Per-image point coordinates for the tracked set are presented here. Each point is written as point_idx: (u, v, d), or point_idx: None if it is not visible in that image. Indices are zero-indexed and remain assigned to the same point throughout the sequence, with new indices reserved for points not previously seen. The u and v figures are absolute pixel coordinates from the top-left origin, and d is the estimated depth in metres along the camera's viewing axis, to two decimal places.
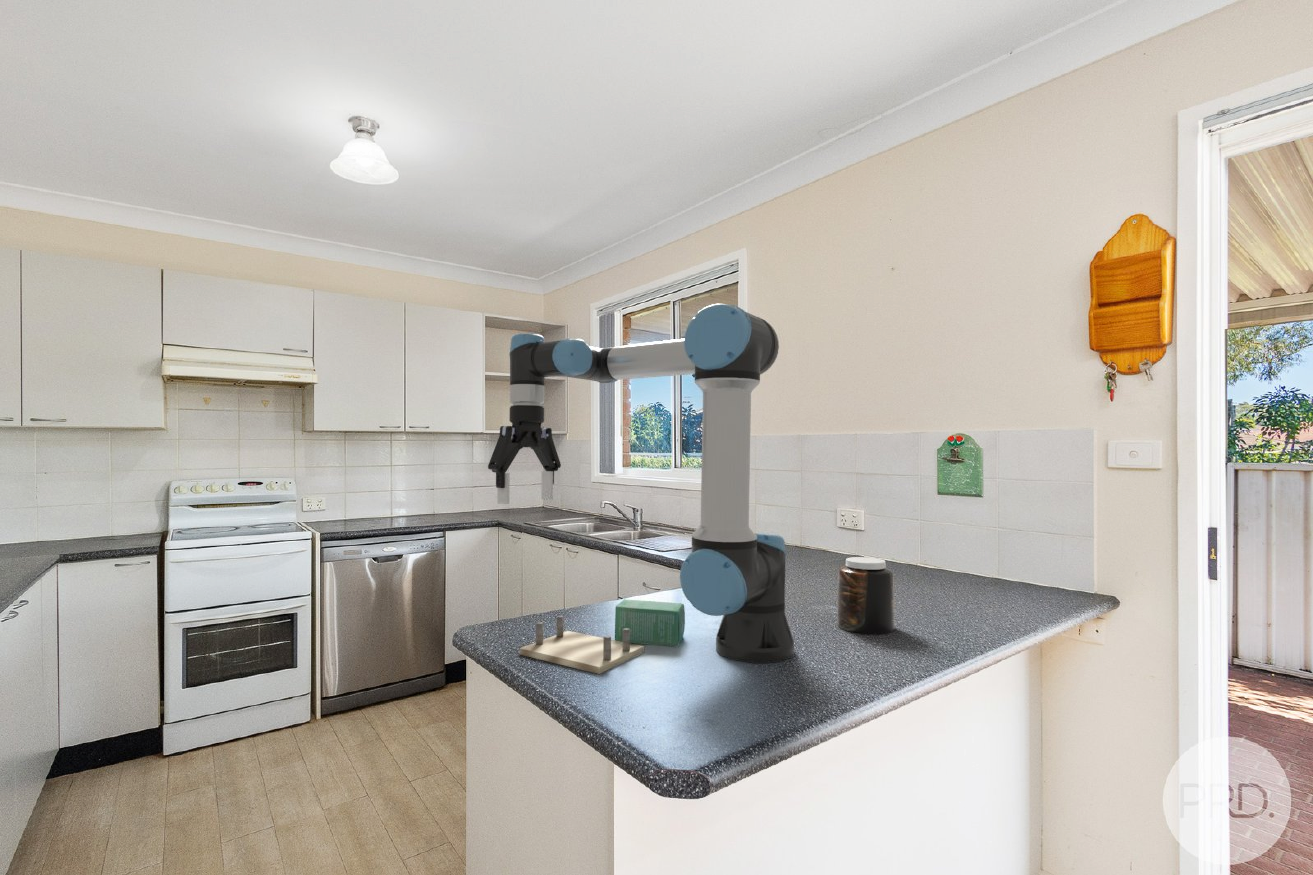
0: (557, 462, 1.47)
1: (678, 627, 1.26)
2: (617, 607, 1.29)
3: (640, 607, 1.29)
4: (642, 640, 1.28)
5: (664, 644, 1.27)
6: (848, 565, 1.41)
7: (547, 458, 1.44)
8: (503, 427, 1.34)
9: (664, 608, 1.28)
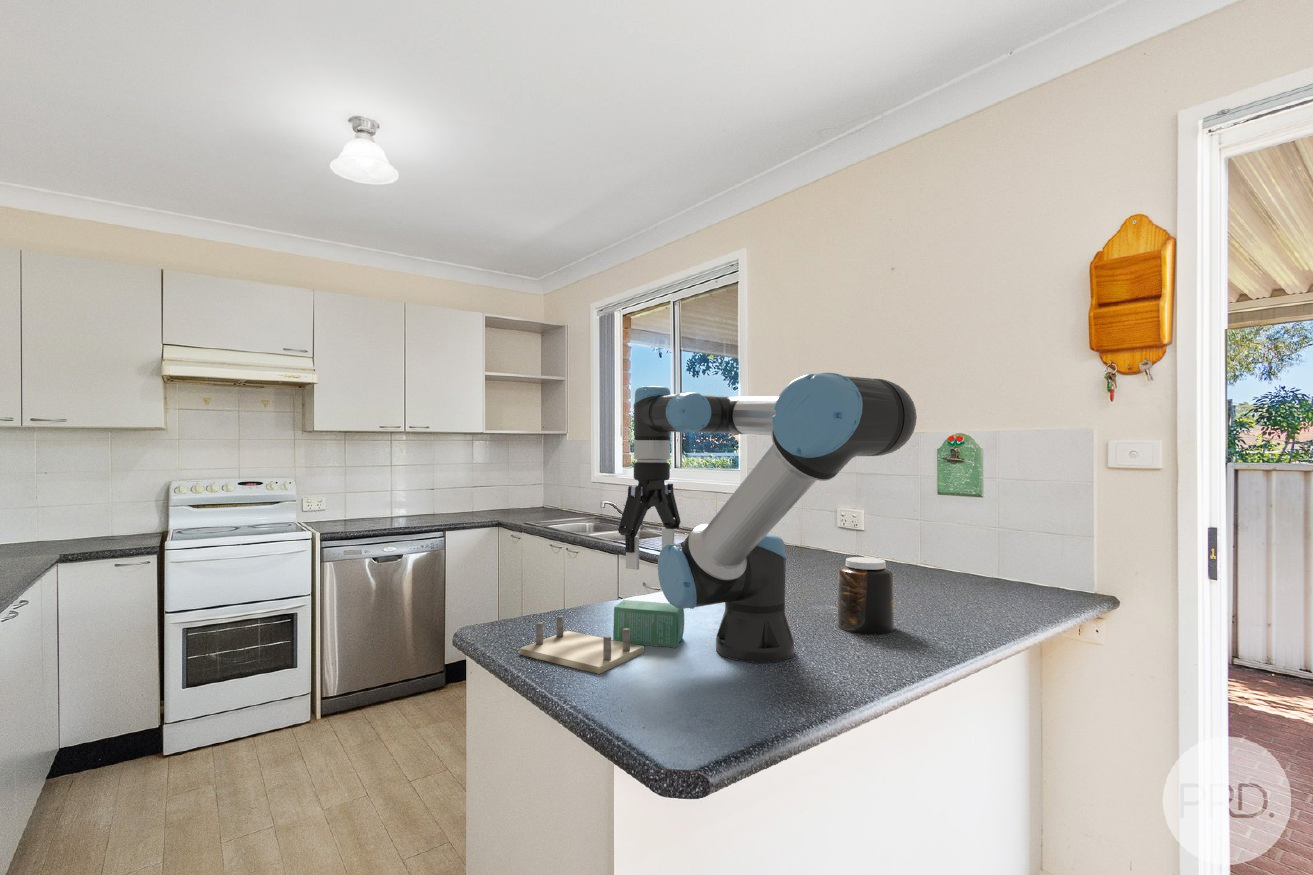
0: (677, 519, 1.39)
1: (676, 628, 1.26)
2: (616, 607, 1.29)
3: (639, 608, 1.28)
4: (640, 641, 1.27)
5: (662, 645, 1.26)
6: (848, 565, 1.41)
7: (669, 516, 1.36)
8: (632, 487, 1.26)
9: (663, 609, 1.28)
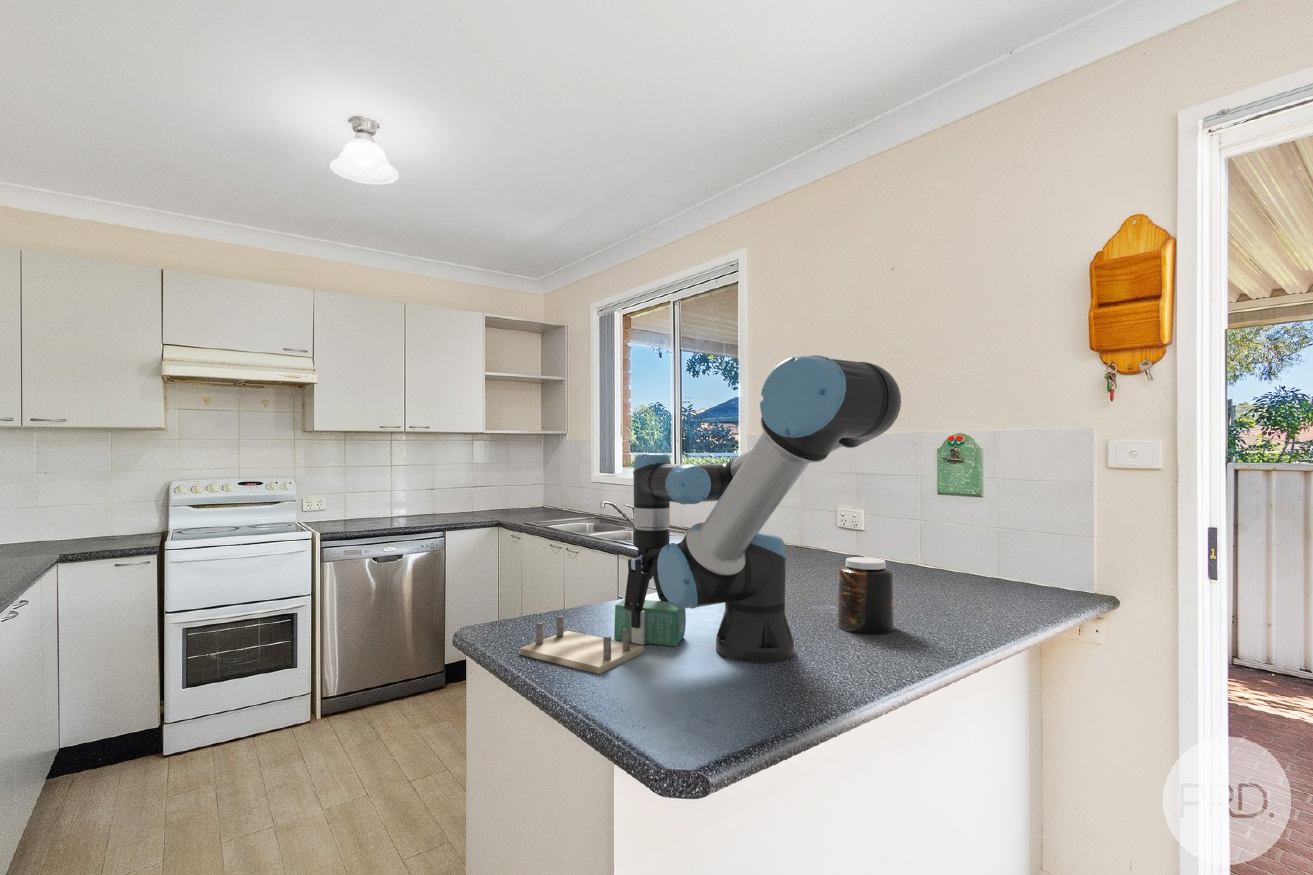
0: None
1: (676, 627, 1.26)
2: (617, 606, 1.30)
3: None
4: None
5: (662, 643, 1.27)
6: (848, 565, 1.41)
7: None
8: (631, 561, 1.26)
9: (663, 607, 1.28)
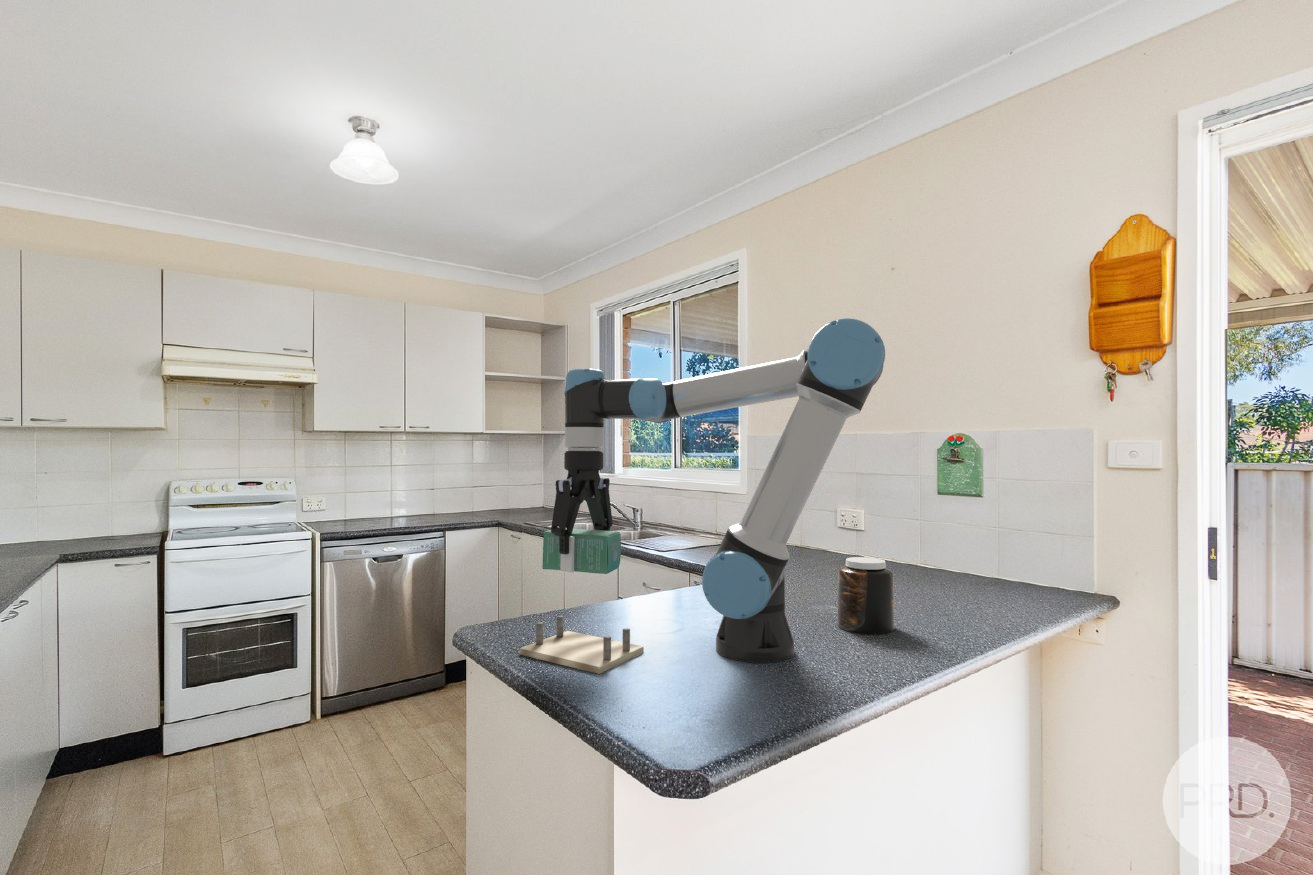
0: (609, 519, 1.27)
1: (607, 553, 1.17)
2: (545, 532, 1.21)
3: None
4: None
5: (592, 571, 1.18)
6: (848, 565, 1.41)
7: (600, 514, 1.25)
8: (559, 482, 1.17)
9: (594, 533, 1.19)
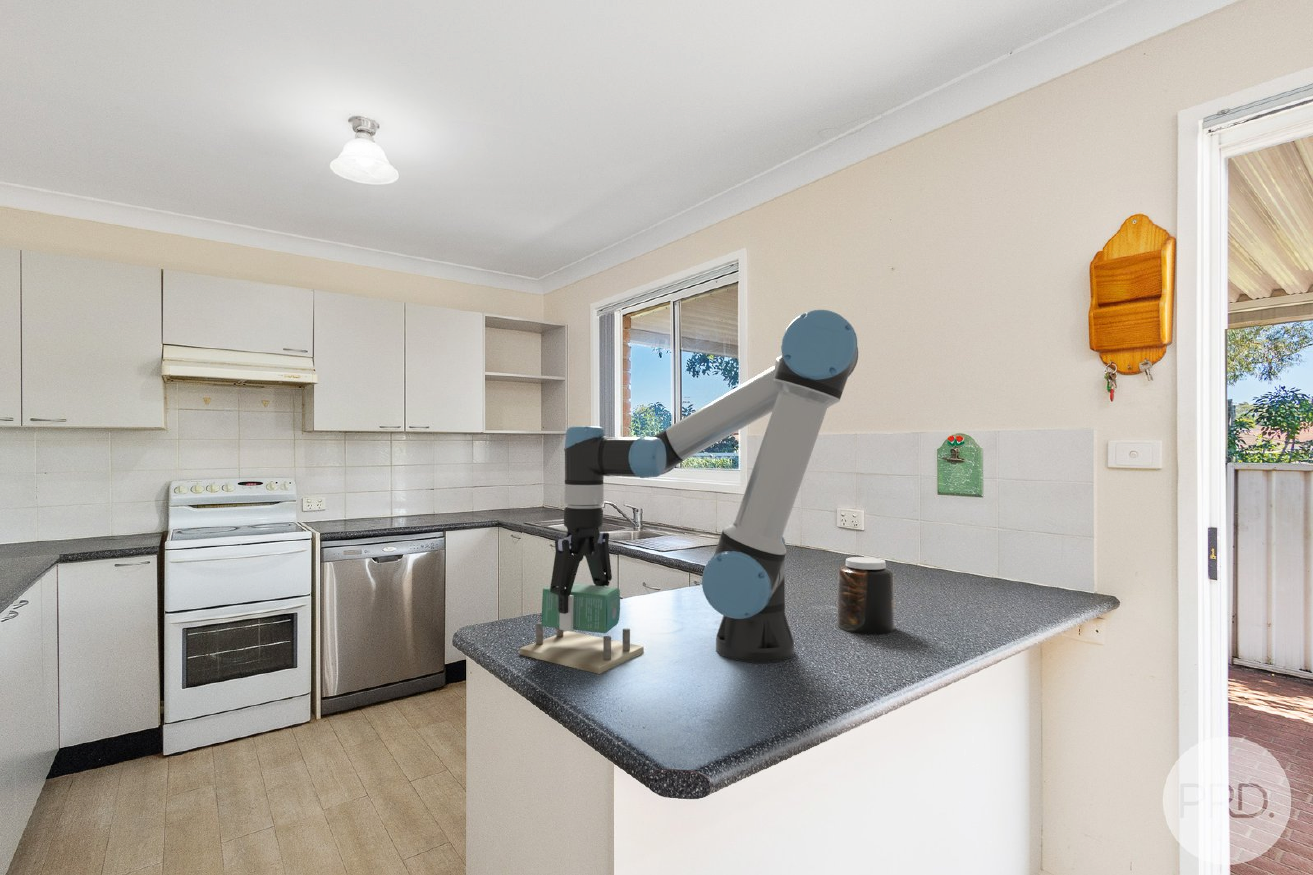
0: (608, 574, 1.27)
1: (606, 612, 1.17)
2: (544, 589, 1.20)
3: None
4: None
5: (591, 630, 1.17)
6: (848, 565, 1.41)
7: (600, 569, 1.25)
8: (558, 542, 1.17)
9: (593, 592, 1.19)
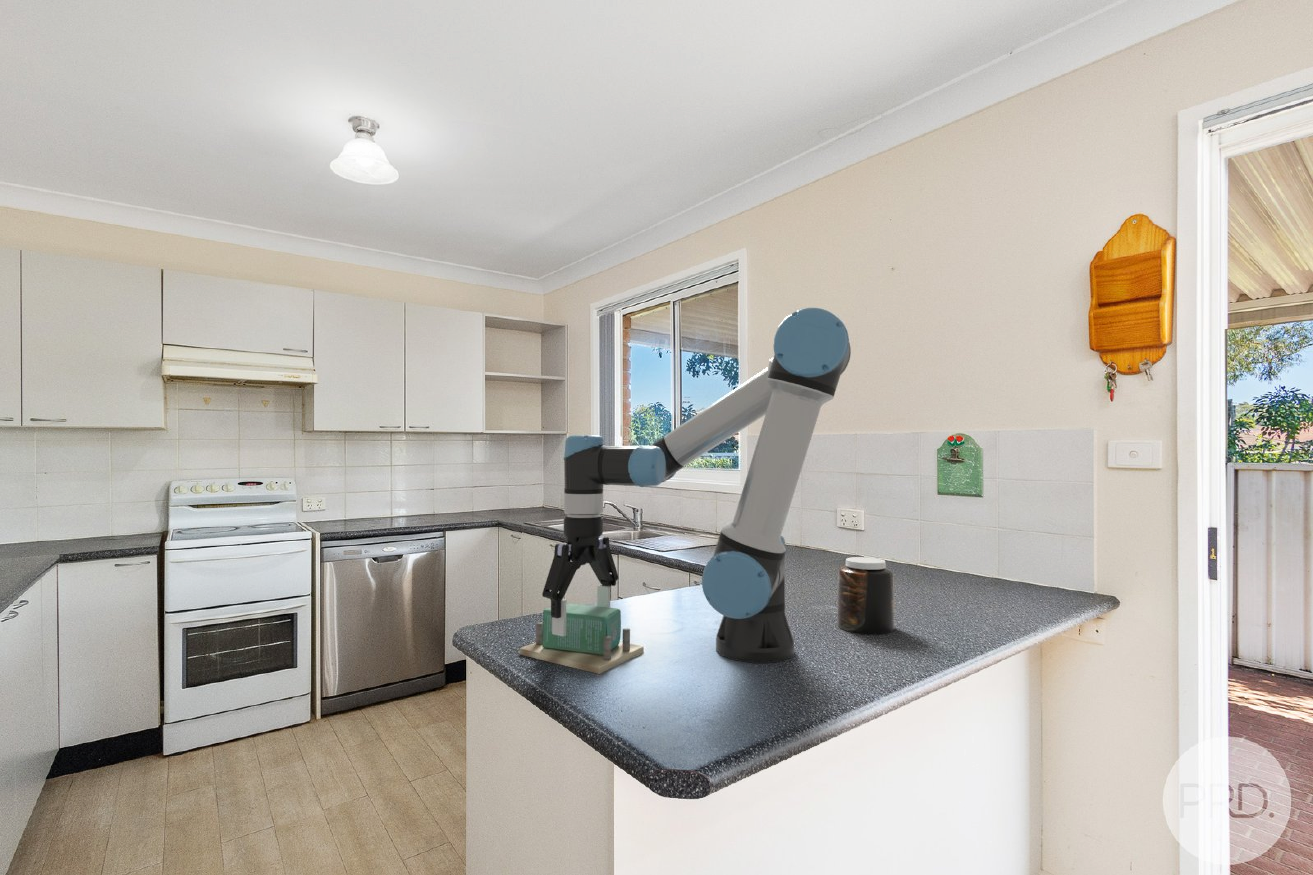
0: (614, 575, 1.29)
1: (606, 634, 1.17)
2: (545, 610, 1.21)
3: (569, 611, 1.20)
4: (569, 647, 1.19)
5: (591, 652, 1.17)
6: (848, 565, 1.41)
7: (604, 572, 1.26)
8: (558, 546, 1.17)
9: (593, 613, 1.19)
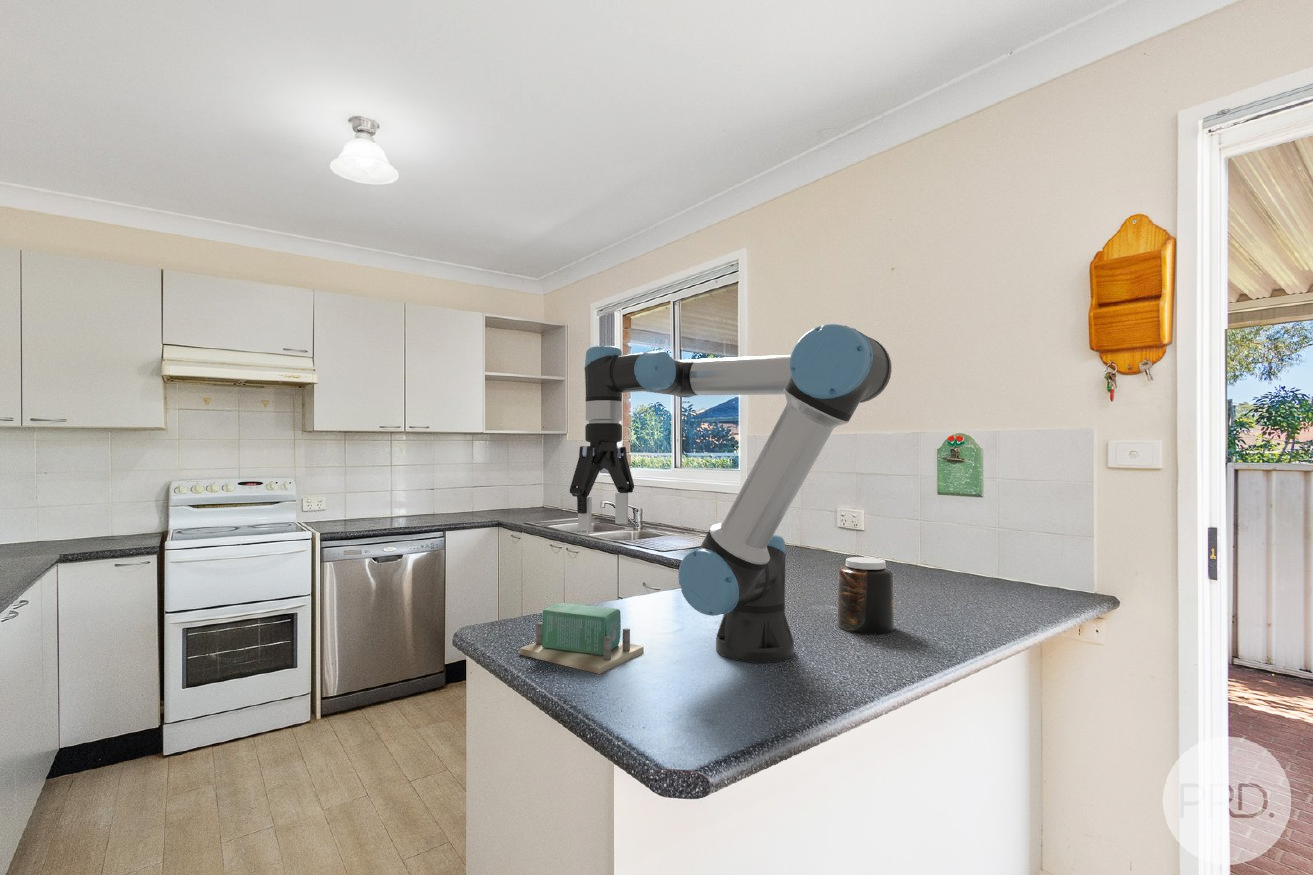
0: (631, 483, 1.37)
1: (605, 634, 1.16)
2: (544, 610, 1.21)
3: (568, 611, 1.20)
4: (568, 647, 1.19)
5: (591, 652, 1.17)
6: (848, 565, 1.41)
7: (623, 479, 1.34)
8: (583, 447, 1.24)
9: (593, 613, 1.19)
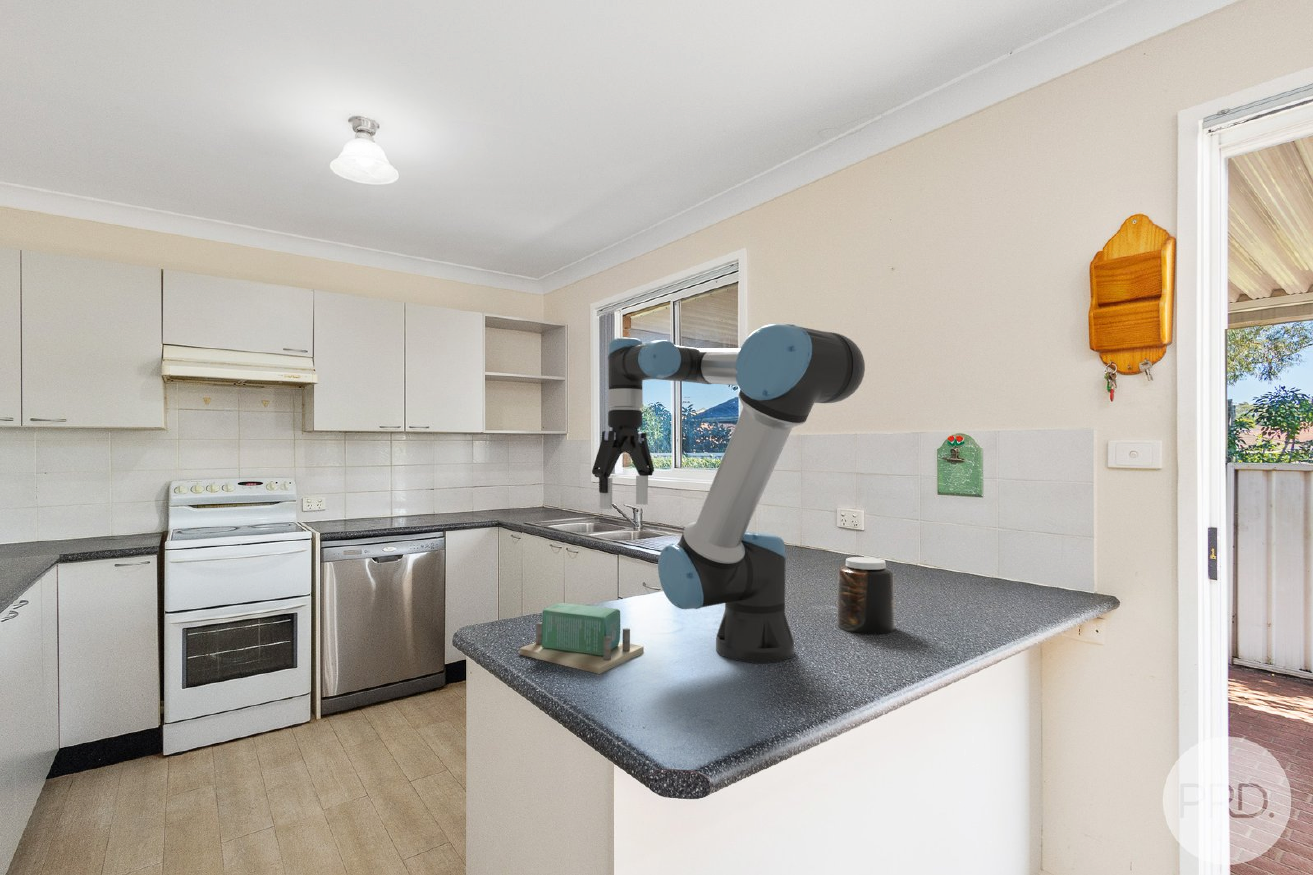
0: (651, 466, 1.46)
1: (604, 635, 1.16)
2: (544, 610, 1.21)
3: (568, 611, 1.20)
4: (568, 647, 1.18)
5: (590, 652, 1.17)
6: (848, 565, 1.41)
7: (643, 463, 1.43)
8: (605, 432, 1.34)
9: (592, 613, 1.18)
